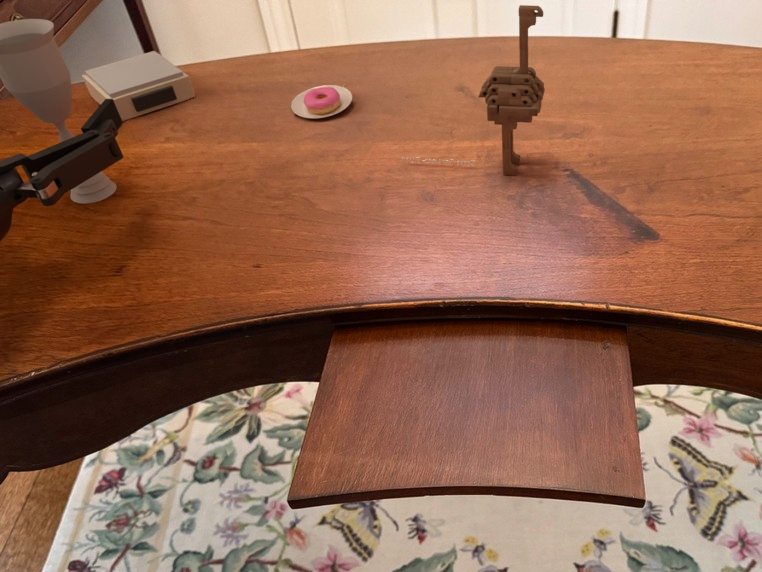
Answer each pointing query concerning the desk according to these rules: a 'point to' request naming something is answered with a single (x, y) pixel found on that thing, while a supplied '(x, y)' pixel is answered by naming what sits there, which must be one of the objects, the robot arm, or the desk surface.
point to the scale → (139, 84)
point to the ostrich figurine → (511, 95)
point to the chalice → (44, 87)
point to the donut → (321, 101)
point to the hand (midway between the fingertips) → (51, 112)
